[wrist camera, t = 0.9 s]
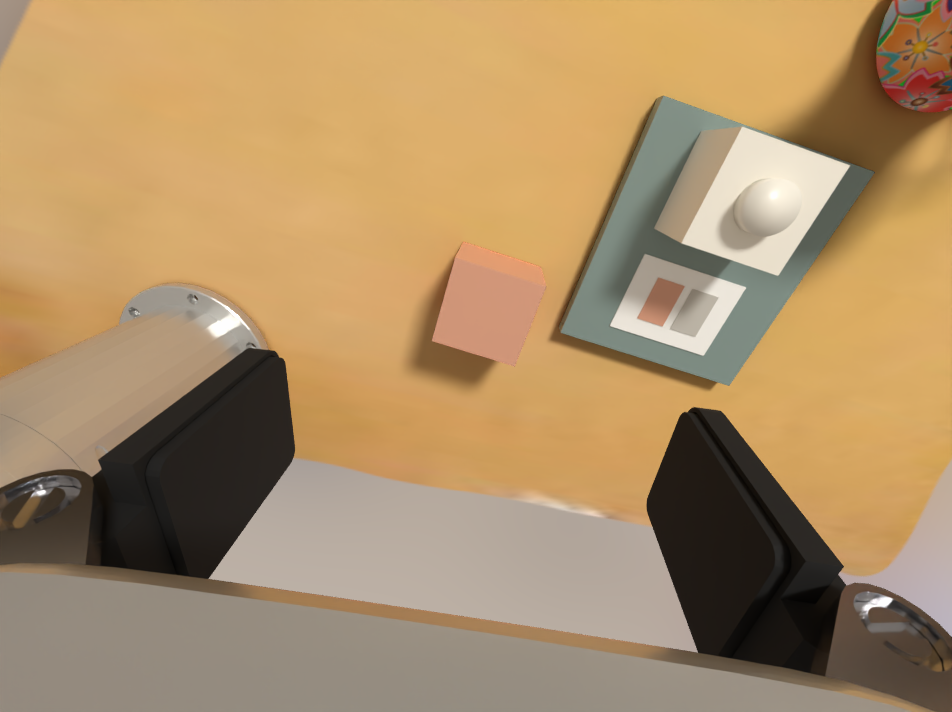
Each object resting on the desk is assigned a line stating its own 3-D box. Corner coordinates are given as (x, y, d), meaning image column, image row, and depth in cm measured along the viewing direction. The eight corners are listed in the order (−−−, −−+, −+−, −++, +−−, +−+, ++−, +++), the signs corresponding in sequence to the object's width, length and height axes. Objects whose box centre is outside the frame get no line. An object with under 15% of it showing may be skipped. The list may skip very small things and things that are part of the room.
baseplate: (722, 378, 34) (772, 432, 27) (558, 326, 33) (570, 369, 26) (860, 171, 27) (972, 177, 20) (657, 98, 26) (706, 80, 19)
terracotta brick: (514, 337, 33) (514, 366, 29) (442, 315, 33) (431, 340, 29) (541, 266, 31) (546, 286, 26) (463, 241, 30) (455, 257, 26)
